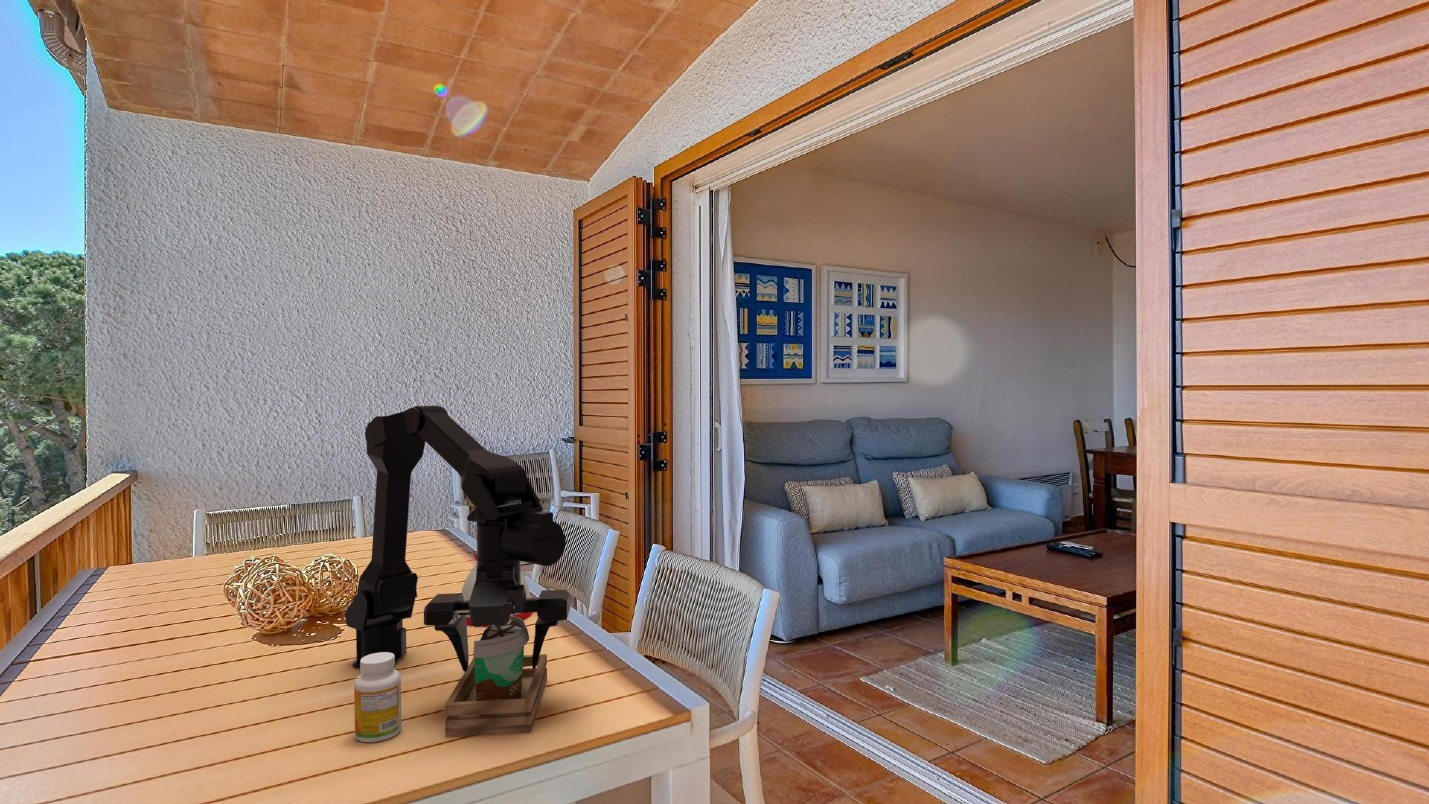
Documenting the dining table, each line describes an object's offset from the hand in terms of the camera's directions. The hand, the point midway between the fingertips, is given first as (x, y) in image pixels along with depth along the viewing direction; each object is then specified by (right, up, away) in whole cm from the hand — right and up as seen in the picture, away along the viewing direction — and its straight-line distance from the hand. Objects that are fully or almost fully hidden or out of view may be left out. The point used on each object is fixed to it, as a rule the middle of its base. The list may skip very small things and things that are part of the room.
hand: (500, 669), depth 102 cm
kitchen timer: (-13, -5, +41) cm, 43 cm away
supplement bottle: (-13, -6, -8) cm, 16 cm away
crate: (0, -5, 0) cm, 5 cm away
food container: (+1, -4, 0) cm, 4 cm away
